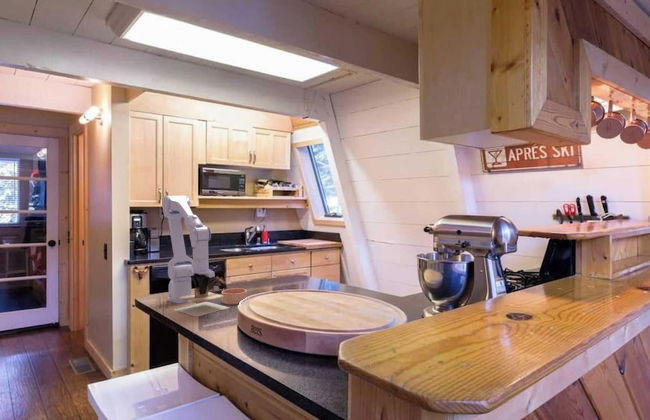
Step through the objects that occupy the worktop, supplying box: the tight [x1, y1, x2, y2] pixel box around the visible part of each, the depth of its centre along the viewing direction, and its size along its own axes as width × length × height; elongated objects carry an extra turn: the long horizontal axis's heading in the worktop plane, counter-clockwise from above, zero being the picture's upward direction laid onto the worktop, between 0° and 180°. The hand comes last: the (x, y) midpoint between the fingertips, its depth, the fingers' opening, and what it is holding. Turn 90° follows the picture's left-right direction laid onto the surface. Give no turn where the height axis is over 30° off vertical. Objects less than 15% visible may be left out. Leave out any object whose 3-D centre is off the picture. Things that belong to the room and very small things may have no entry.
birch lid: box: [179, 286, 224, 304], centre depth 162 cm, size 12×12×4 cm
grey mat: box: [173, 301, 230, 317], centre depth 162 cm, size 15×15×1 cm
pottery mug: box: [208, 276, 229, 292], centre depth 191 cm, size 12×10×8 cm
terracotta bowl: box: [221, 287, 248, 305], centre depth 173 cm, size 10×10×4 cm
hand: (201, 293), depth 162 cm, fingers closed on birch lid
